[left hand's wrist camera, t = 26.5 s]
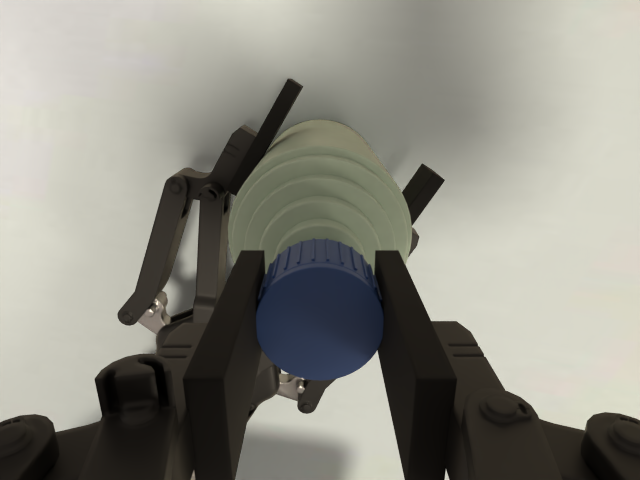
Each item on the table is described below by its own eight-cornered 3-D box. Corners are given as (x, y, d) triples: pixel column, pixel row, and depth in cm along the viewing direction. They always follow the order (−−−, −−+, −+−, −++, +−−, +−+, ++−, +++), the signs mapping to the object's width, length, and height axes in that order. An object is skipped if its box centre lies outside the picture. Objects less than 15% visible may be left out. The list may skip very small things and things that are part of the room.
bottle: (239, 157, 30) (129, 266, 13) (342, 96, 29) (377, 123, 11) (299, 252, 33) (276, 453, 15) (397, 199, 31) (496, 353, 14)
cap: (253, 327, 15) (242, 368, 13) (274, 224, 14) (267, 251, 12) (359, 349, 15) (366, 393, 13) (391, 250, 14) (403, 281, 12)
